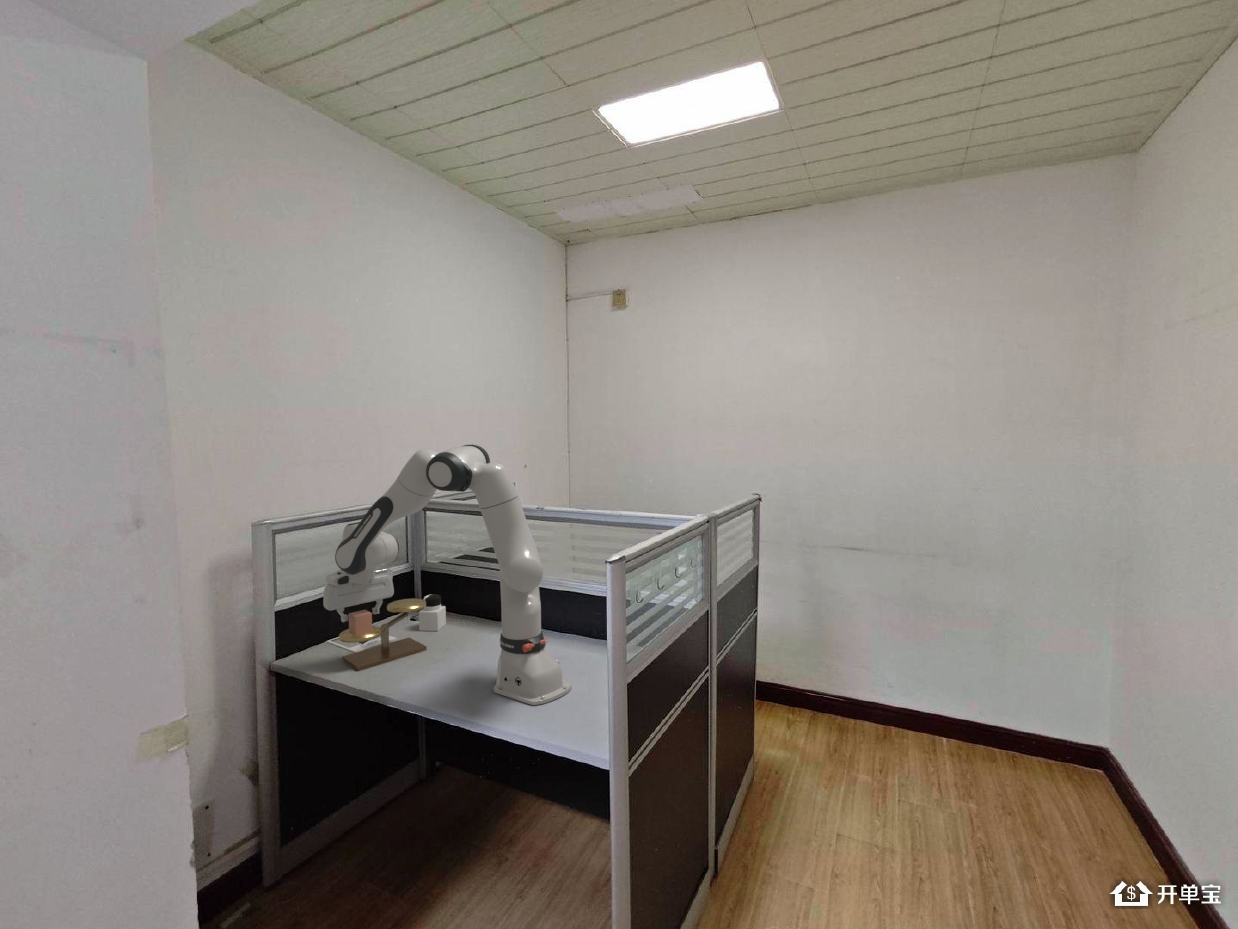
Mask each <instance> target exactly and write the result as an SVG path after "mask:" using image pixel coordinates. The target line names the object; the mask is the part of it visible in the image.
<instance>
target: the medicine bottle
mask: <svg viewBox="0 0 1238 929" xmlns="http://www.w3.org/2000/svg"><path fill="white" fill-rule="evenodd" d="M423 600H425V601H426V606H425V607H424V608H422V609H420V610H418V611H419V612H418V618H419V620H418V621H419V623H418V624H419V625H418V626H419V631H422V632H423V631H424V632H425V631H426V632H439V631H440V630H441V629H443V627H445V626H446V625H447V616H446V614H447V612H446V611H447V610H446V609H447V608H446V606H445V605H442V596H441V595H439V594H436V593H433V594H428V595H426V596H424V597H423Z"/></svg>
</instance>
